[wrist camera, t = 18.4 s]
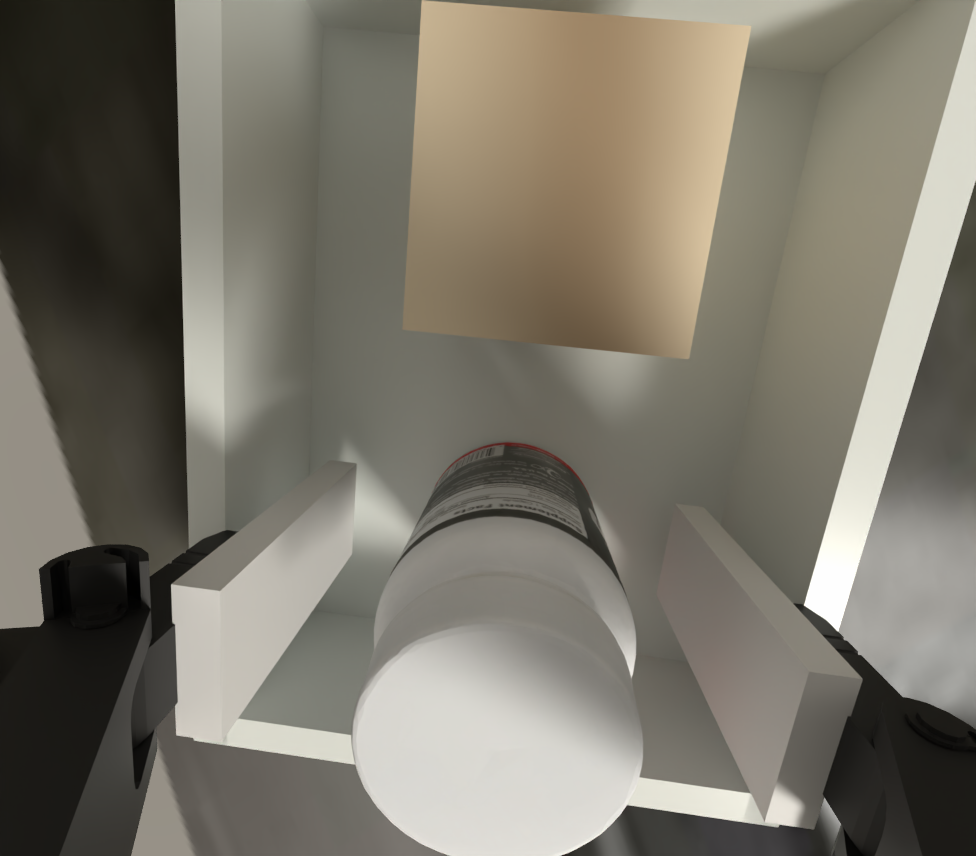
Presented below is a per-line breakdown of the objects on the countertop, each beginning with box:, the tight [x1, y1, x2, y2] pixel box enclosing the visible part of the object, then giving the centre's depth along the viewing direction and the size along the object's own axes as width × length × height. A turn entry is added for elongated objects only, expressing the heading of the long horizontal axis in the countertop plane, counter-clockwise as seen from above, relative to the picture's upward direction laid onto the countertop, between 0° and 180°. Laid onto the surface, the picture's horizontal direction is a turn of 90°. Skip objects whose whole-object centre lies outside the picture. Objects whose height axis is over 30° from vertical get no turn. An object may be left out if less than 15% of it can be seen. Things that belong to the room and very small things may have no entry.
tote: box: [175, 0, 976, 827], centre depth 12 cm, size 18×14×5 cm
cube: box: [402, 0, 751, 359], centre depth 11 cm, size 5×5×5 cm
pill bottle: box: [351, 441, 643, 856], centre depth 11 cm, size 5×5×8 cm
